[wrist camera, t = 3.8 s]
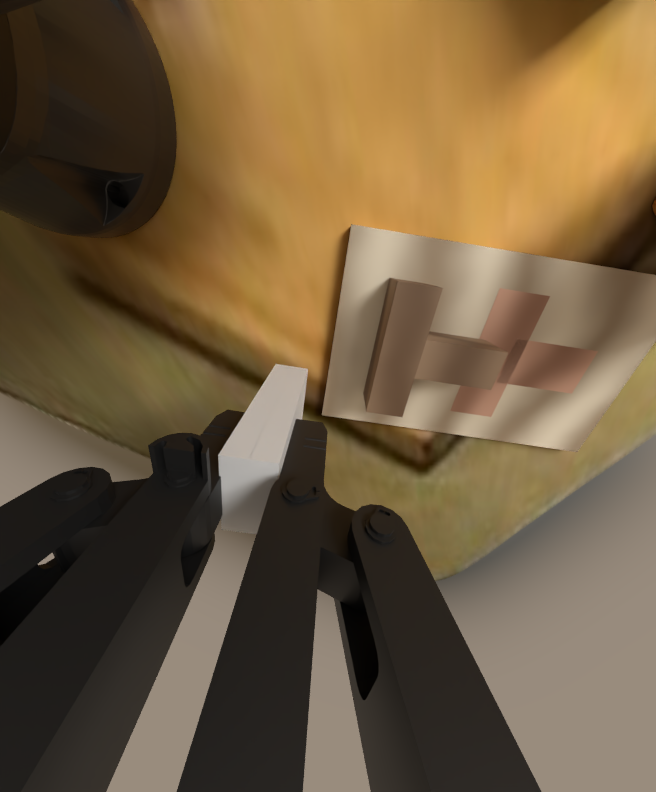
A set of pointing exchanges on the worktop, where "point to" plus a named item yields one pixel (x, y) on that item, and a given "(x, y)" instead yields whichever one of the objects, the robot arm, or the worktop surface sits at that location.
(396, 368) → the walnut T block
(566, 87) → the worktop surface
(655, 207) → the coffee package
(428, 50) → the worktop surface
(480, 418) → the birch board
